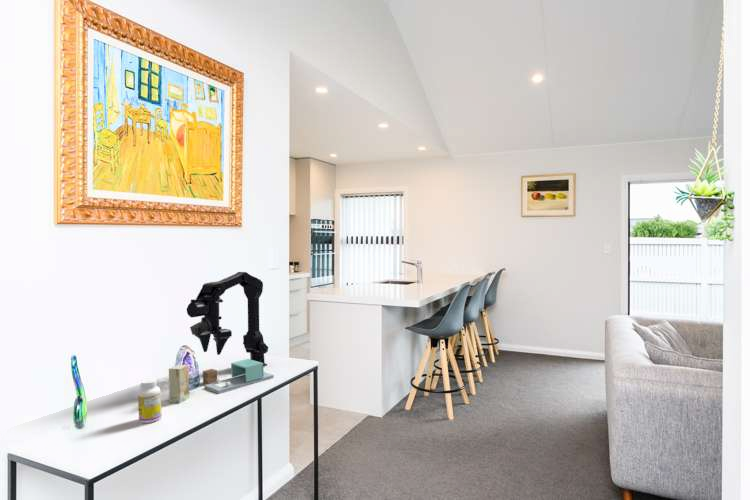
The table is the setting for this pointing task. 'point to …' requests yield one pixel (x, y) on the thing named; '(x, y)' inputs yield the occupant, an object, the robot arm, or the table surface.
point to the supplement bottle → (149, 401)
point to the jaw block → (209, 376)
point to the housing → (247, 369)
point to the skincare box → (178, 383)
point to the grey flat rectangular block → (234, 383)
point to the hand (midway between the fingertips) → (211, 353)
